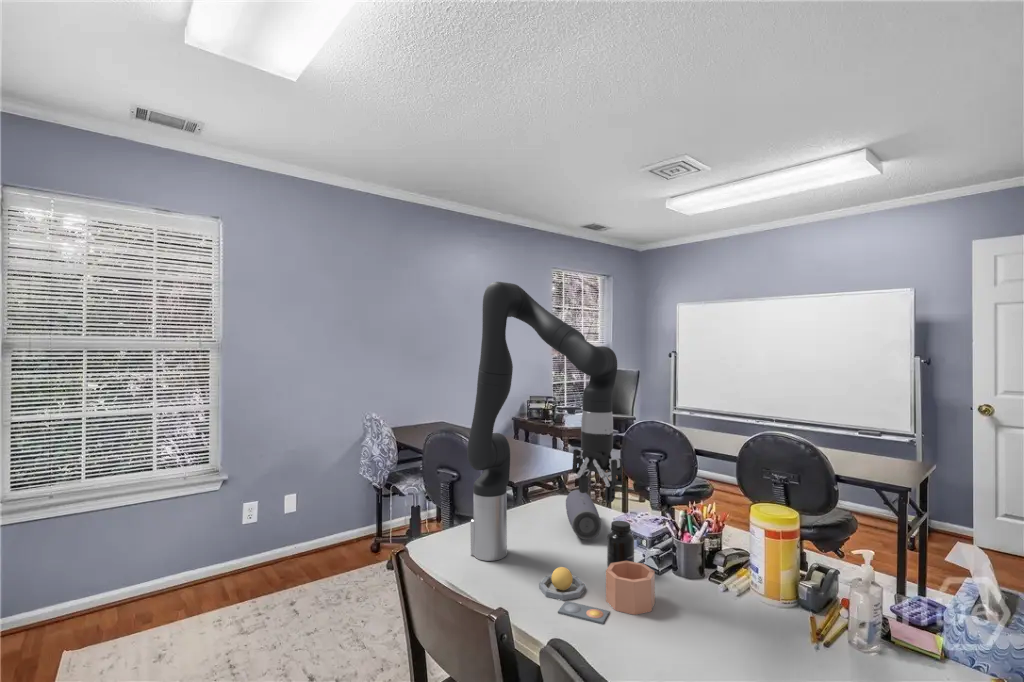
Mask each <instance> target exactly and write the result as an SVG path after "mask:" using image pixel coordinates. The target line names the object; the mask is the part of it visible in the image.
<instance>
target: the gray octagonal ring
mask: <svg viewBox="0 0 1024 682" xmlns="http://www.w3.org/2000/svg"><path fill="white" fill-rule="evenodd" d="M572 577H573V581H572V584H575V585H576V587H577V588H576V589H575V590H572V591H571V590H570V591H566V592H560V591H556V590H551V589H549V588H548V587H547V586H548V585H549V584H550V583H552V574H551V575H545V577H544V578H543V579H542V580H541V581H540V582H539V583H538V585H539V586H538V587H539V590H540V591H541V592H542V594H543V593H544V594H543V595H544V596H545V597H546V598H550V597H552V598H551V599H554V598H556V599H555V600H558V599H560V601H568V600H567V599H569V600H572V599H571V598H574V599H579V598H581V596H582V595H583V593H584V592H585V591H586V584H585V583H584V582H583V581H582V580H581V579H580V578H579V577H578V576H575V575H572ZM549 582H550V583H549ZM546 585H547V586H546Z"/></svg>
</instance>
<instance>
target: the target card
mask: <svg viewBox="0 0 1024 682" xmlns="http://www.w3.org/2000/svg"><path fill="white" fill-rule="evenodd" d="M557 613H558V614H561V615H563V614H564V616H567V617H571V618H576V619H581V620H585V621H588V622H591V623H592V622H593V623H596V624H601V625H604V623H605V621H606V620H607V618H608V616H609V615H610V610H607V609H603V608H598V607H593V606H589V605H586V604H581V603H578V602H573V601H570V600H564V603H563V604H562V605H561V607H560V608H559V609H558V610H557Z"/></svg>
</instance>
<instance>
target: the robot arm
mask: <svg viewBox="0 0 1024 682" xmlns="http://www.w3.org/2000/svg"><path fill="white" fill-rule="evenodd" d="M483 293H484V294H483V296H482V297H483V298H482V331H481V347H480V355H479V356H480V357H479V358H480V359H479V365H478V374H477V382H476V383H477V384H476V385H477V386H476V395H475V404H474V411H473V417H472V422H471V427H470V431H469V436H468V441H467V448H466V449H467V450H466V451H467V452H466V454H467V456H466V457H467V461H468V463H469V465H470V466H471V468H473V469H474V470H476V471H482V473H481V475H480V476H479V477H478V478H476V480H475V481H474V482H473V490H472V491H473V492H472V493H473V518H472V519H471V520H470V556H472V557H473V556H474V557H475V558H476V559H478V560H479V561H486V562H487V561H488V562H489V561H493V562H494V561H499V560H501V559H504V558H506V556H507V555H508V524H507V523H508V519H507V517H508V514H507V512H508V506H507V505H508V503H507V500H508V499H507V497H508V496H507V494H508V493H507V492H508V491H507V490H508V489H507V488H508V484H509V483H510V482H509V481H510V474H511V472H510V470H511V448H510V444H509V441H508V439H507V437H506V436H505V435H504V434H502V433H500V432H494V427H495V423H496V420H497V417H498V416H499V413H500V411H501V410H502V408H503V407H504V404H505V403H506V400H507V399H508V396H509V394H510V392H511V388H512V381H513V380H512V379H513V373H514V372H513V369H514V366H513V360H512V356H511V353H510V352H511V351H510V350H509V346H508V343H507V337H506V335H507V334H506V331H507V323H508V318H512V317H513V318H515V319H517V320H519V321H522V322H523V323H526V324H527V325H528V326H530V327H531V328H532V329H533V330H534V331H535V332H536V334H537V335H538V336H539V337H540V339H541V340H543V342H544V343H546V344H547V345H548V346H550V347H551V348H553V350H555V351H557V352H558V353H560V354H561V355H562V356H565V357H566V358H567V360H568V361H569V362H570V363H571V364H572V365H573V366H574V367H575V368H576V369H577V370H578V371H580V372H581V373H583V374H584V375H586V376H589V383H588V385H586V386H585V388H584V389H583V393H582V414H581V421H580V422H581V426H580V427H581V432H580V436H581V437H580V439H581V440H580V448H577V449H576V448H575V449H573V456H572V469H571V470H572V473H573V474H576V475H577V477H578V490H579V492H580V493H588V490H589V476H588V475H589V474H590V472H594V473H596V474H598V475H599V476H600V478H601V479H602V480H603V482H604V483H605V487H604V491H605V492H604V500H605V501H604V502H605V503H608V504H610V503H613V502H614V501H615V499H616V486H620V485H623V483H624V481H623V460H622V458H620V457H619V458H613V457H612V454H611V453H612V450H613V448H614V416H613V391H614V387H615V384H616V378H617V373H618V359H617V355H616V353H615V351H614V350H613V349H611V348H610V347H608V346H604V345H603V346H596V345H593V344H592V343H590V342H589V341H587V340H586V338H585V336H584V335H583V334H582V333H581V331H579V330H577V329H576V328H574V327H573V326H571V325H569V324H568V323H566V321H564V320H562V319H560V318H559V317H557V316H556V315H554V314H552V313H551V312H550V311H548V310H547V309H546V308H544V307H543V306H542V305H541V304H539V303H538V302H537V300H535V299H534V298H533V297H532V296H531V295H530V294H529V293H527V291H526V290H524V288H522V287H521V286H520V285H518V284H516V283H511V282H505V281H493V282H491V283H490V284H488V286H487V287H486V289H485V290H484V292H483Z"/></svg>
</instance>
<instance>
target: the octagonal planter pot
mask: <svg viewBox="0 0 1024 682" xmlns="http://www.w3.org/2000/svg"><path fill="white" fill-rule="evenodd" d="M655 574H656V571H655V570H653V569H652V568H651V567H649V566H648V565H647V564H645V563H641V562H636V561H634V562H631V561H621V562H615V563H611V564H610V565H609V567H608V568H606V569H605V593H606V594H605V602H606V603H607V602H608V603H609V604H608V603H607V604H608V605H609V606H610V605H611V606H610V607H611V608H612V607H613V609H614V611H617V612H621V613H624V614H630V615H634V616H637V615H640V614H645V613H650V612H652V610H653V609H654V605H655V603H656V598H655V597H656V587H655V585H656V581H655V580H656V579H655Z"/></svg>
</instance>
